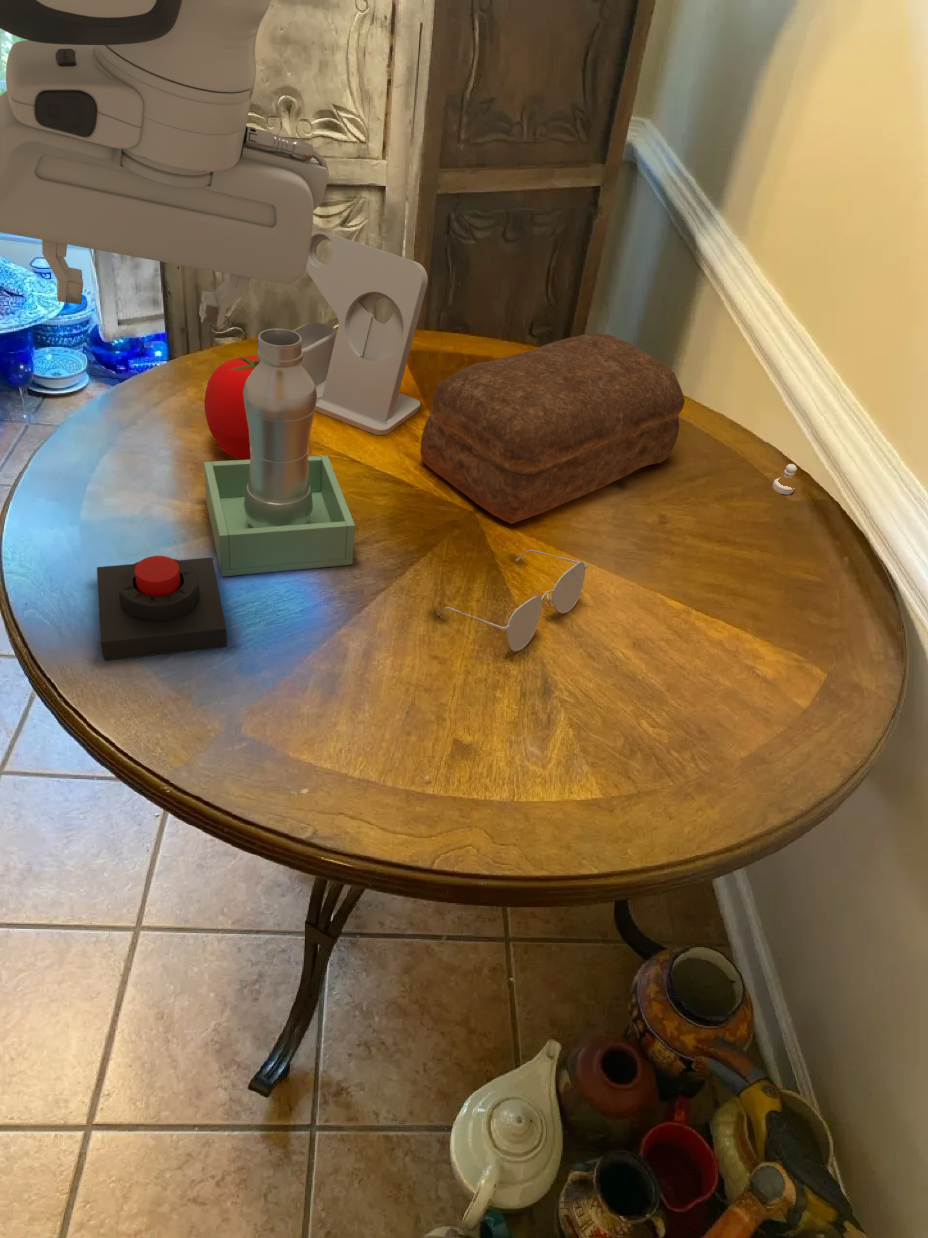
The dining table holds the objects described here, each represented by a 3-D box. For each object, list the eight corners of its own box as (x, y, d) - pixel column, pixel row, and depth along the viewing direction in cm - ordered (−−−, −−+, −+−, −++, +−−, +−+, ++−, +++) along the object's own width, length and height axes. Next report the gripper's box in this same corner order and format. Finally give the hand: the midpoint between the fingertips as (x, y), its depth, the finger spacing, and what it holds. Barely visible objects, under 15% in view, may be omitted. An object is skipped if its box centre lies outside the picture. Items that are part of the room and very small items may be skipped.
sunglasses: (504, 663, 82) (506, 618, 79) (432, 629, 86) (431, 585, 84) (586, 597, 91) (590, 554, 88) (517, 569, 95) (519, 527, 93)
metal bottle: (236, 513, 93) (231, 323, 80) (301, 504, 95) (306, 319, 82) (254, 550, 88) (250, 356, 75) (321, 539, 91) (329, 351, 78)
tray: (221, 576, 86) (219, 535, 83) (206, 501, 95) (203, 461, 92) (352, 564, 90) (355, 525, 87) (326, 493, 99) (327, 455, 96)
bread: (679, 462, 115) (711, 364, 106) (504, 536, 97) (526, 426, 89) (581, 402, 123) (604, 307, 115) (404, 461, 106) (416, 354, 97)
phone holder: (263, 390, 114) (262, 243, 102) (311, 363, 121) (314, 223, 110) (382, 437, 109) (395, 289, 98) (424, 406, 116) (440, 264, 105)
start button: (137, 599, 77) (135, 583, 76) (135, 573, 79) (133, 557, 78) (182, 595, 78) (181, 579, 77) (178, 569, 80) (177, 553, 79)
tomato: (188, 460, 100) (182, 369, 93) (229, 417, 108) (226, 330, 101) (279, 483, 99) (279, 392, 92) (314, 438, 107) (317, 352, 100)
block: (103, 661, 76) (97, 625, 73) (99, 585, 83) (94, 550, 80) (227, 647, 79) (225, 612, 76) (213, 575, 86) (211, 541, 83)
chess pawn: (770, 490, 112) (780, 466, 110) (773, 481, 114) (783, 456, 112) (791, 497, 112) (802, 472, 109) (793, 487, 114) (804, 463, 111)
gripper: (325, 127, 61) (279, 309, 71) (-20, 34, 52) (-21, 258, 61) (347, 172, 58) (295, 357, 67) (-20, 81, 48) (-22, 311, 57)
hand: (142, 310), depth 64 cm, fingers open, 8 cm apart
